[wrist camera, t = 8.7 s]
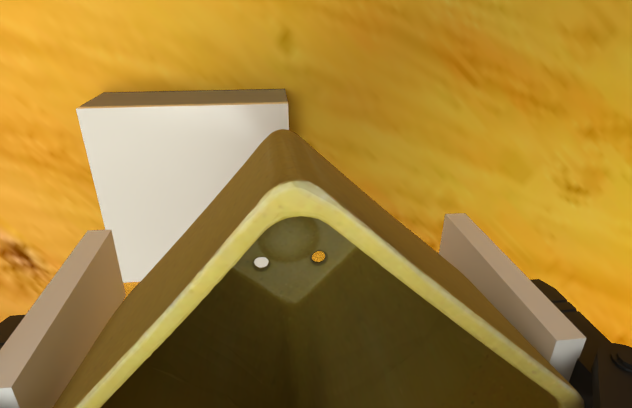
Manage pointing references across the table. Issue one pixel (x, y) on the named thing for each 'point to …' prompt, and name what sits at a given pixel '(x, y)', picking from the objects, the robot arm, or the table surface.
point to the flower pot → (308, 310)
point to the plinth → (169, 160)
